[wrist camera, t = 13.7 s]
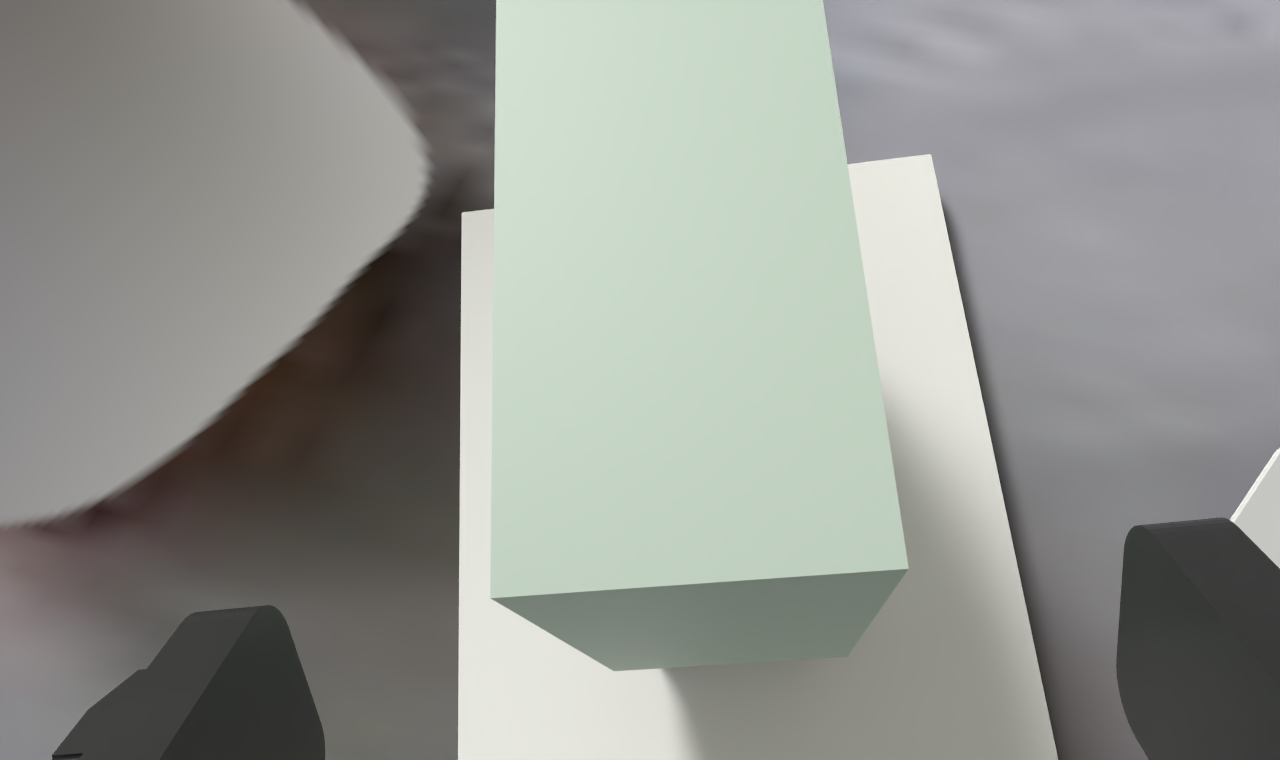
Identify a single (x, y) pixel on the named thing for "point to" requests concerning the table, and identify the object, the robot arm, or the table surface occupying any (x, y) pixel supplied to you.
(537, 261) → the pale green square block
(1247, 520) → the plate
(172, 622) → the table surface
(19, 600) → the table surface
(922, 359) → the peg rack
